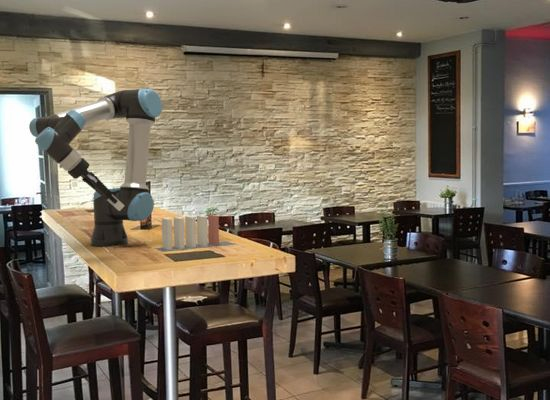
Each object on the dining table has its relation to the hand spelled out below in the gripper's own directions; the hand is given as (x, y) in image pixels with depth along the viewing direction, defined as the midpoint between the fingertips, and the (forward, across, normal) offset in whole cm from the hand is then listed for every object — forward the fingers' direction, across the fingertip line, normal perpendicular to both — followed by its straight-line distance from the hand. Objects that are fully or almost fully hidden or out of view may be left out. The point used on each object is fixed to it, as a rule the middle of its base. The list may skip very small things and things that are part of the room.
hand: (121, 208), depth 229 cm
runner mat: (+34, 0, +9) cm, 35 cm away
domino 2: (+28, 0, +4) cm, 28 cm away
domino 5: (+39, 0, +15) cm, 41 cm away
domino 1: (+25, 0, 0) cm, 25 cm away
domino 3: (+32, 0, +8) cm, 33 cm away
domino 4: (+35, 0, +11) cm, 37 cm away
